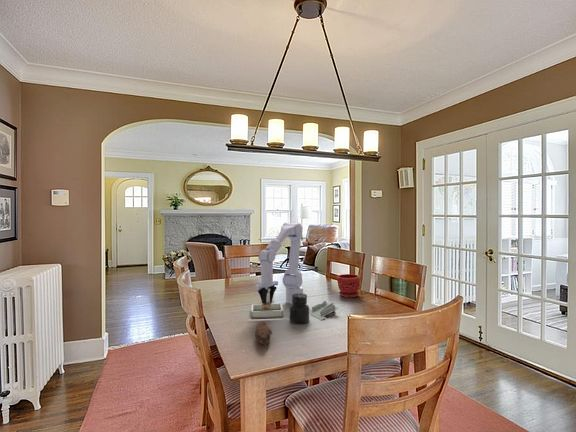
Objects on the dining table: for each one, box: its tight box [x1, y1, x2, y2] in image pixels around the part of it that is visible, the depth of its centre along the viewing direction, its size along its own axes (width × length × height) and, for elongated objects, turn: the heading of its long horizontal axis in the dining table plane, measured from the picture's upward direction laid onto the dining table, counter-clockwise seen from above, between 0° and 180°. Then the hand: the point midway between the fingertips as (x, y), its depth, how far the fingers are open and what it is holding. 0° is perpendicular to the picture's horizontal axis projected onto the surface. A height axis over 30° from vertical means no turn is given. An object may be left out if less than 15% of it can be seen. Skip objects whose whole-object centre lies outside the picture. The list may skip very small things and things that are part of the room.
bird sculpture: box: [254, 320, 273, 349], centre depth 125 cm, size 7×25×5 cm, turn 8°
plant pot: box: [336, 273, 361, 298], centre depth 189 cm, size 13×13×12 cm
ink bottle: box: [289, 293, 310, 325], centre depth 146 cm, size 10×9×12 cm
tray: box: [250, 302, 284, 320], centre depth 155 cm, size 15×12×4 cm
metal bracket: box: [309, 300, 339, 321], centre depth 156 cm, size 14×6×15 cm
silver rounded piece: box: [262, 287, 271, 310], centre depth 156 cm, size 4×4×10 cm
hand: (267, 302), depth 155 cm, fingers closed on silver rounded piece, 4 cm apart
